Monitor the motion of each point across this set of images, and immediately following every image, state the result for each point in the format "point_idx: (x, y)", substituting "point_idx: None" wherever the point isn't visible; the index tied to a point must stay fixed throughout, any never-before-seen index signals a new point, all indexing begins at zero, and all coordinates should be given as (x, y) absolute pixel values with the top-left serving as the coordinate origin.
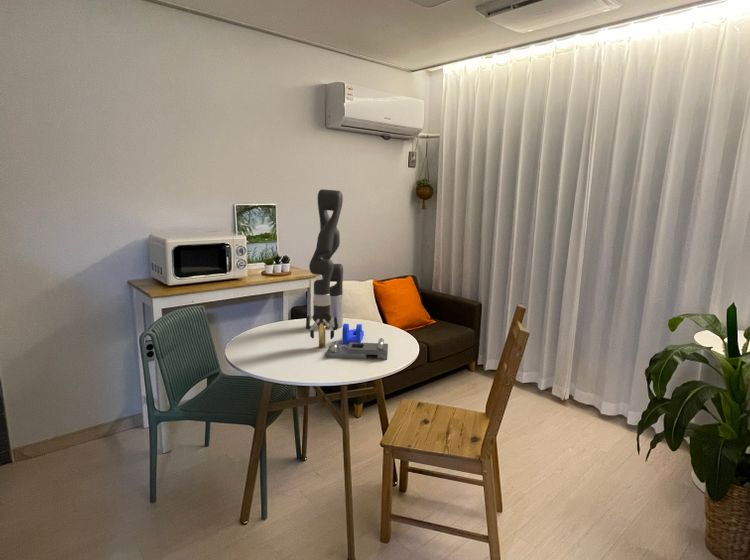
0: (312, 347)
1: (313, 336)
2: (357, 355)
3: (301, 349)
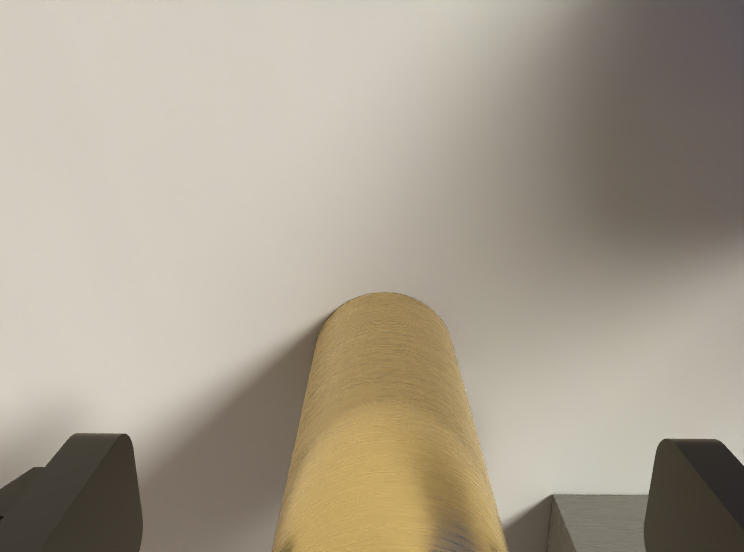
0: (190, 387)
1: (120, 536)
2: None
3: None
